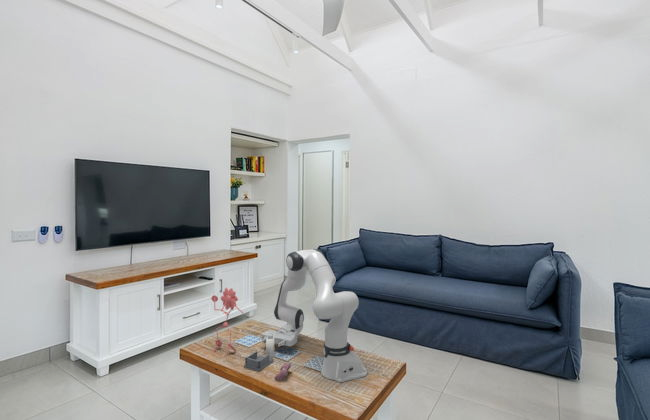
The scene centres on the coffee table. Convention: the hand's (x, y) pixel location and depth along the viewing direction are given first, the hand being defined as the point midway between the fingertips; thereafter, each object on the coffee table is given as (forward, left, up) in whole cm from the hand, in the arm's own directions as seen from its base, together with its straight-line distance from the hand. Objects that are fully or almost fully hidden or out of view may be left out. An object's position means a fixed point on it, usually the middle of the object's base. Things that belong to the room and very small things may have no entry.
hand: (270, 343), depth 175 cm
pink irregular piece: (-4, +22, -7) cm, 23 cm away
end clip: (+6, +8, -7) cm, 12 cm away
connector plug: (0, 0, -7) cm, 7 cm away
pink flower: (+22, -13, -7) cm, 27 cm away
